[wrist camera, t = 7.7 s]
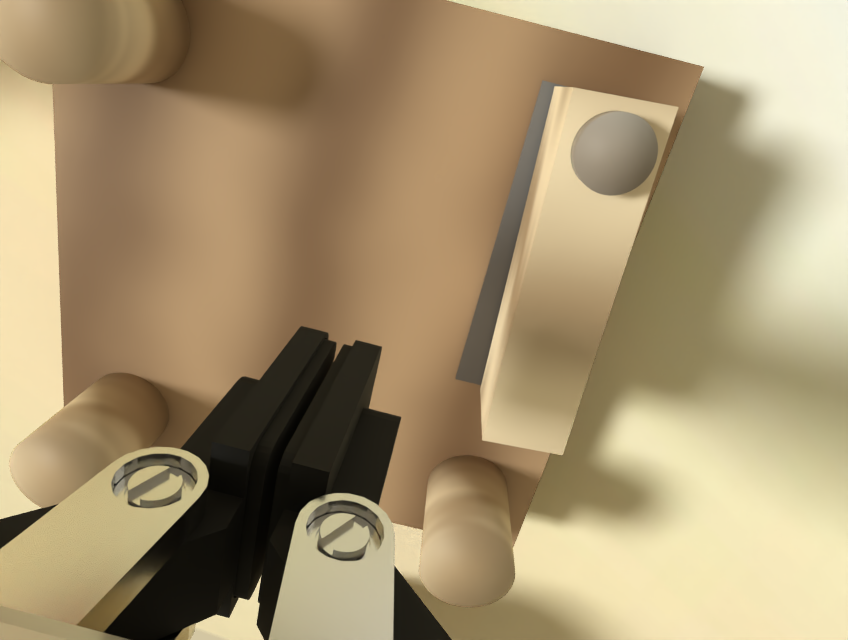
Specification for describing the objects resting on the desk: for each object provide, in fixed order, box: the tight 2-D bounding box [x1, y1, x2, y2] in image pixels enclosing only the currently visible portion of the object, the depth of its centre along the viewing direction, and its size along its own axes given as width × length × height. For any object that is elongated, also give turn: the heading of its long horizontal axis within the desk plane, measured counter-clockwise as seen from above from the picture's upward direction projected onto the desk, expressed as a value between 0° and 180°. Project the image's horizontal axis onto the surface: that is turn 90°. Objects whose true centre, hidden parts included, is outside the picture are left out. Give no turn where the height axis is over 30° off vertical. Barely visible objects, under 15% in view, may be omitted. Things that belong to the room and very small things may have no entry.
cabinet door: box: [480, 86, 679, 455], centre depth 16 cm, size 10×2×4 cm, turn 170°
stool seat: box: [0, 0, 704, 607], centre depth 18 cm, size 18×18×6 cm
